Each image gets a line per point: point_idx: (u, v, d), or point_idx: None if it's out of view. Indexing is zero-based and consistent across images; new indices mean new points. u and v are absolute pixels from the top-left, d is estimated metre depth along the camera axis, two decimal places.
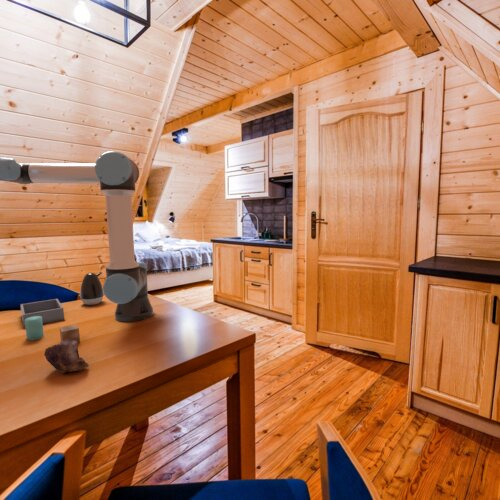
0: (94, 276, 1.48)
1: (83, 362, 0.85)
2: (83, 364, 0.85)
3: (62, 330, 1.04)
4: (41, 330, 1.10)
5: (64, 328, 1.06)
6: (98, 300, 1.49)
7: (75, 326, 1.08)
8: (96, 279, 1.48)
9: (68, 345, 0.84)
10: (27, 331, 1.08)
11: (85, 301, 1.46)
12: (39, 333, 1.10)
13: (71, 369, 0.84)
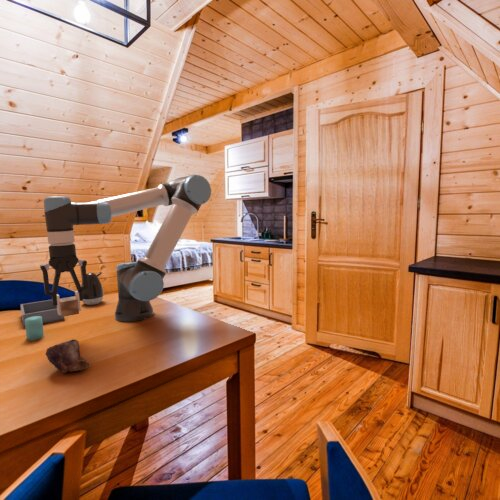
0: (94, 276, 1.48)
1: (84, 362, 0.85)
2: (84, 364, 0.85)
3: (61, 301, 1.03)
4: (41, 330, 1.10)
5: (63, 299, 1.05)
6: (98, 300, 1.49)
7: (74, 297, 1.07)
8: (96, 279, 1.48)
9: (69, 345, 0.84)
10: (27, 331, 1.08)
11: (85, 301, 1.46)
12: (39, 333, 1.10)
13: (72, 369, 0.84)
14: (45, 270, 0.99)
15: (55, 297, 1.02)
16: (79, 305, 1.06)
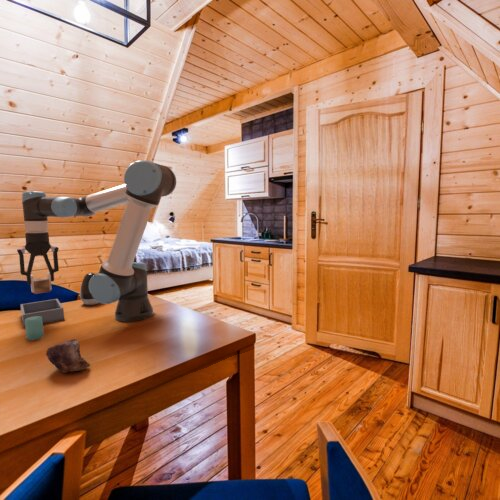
0: None
1: (84, 362, 0.85)
2: (84, 364, 0.85)
3: (34, 280, 1.21)
4: (41, 330, 1.10)
5: (36, 279, 1.23)
6: None
7: (46, 278, 1.24)
8: None
9: (69, 345, 0.84)
10: (27, 331, 1.08)
11: (85, 301, 1.46)
12: (39, 333, 1.10)
13: (72, 369, 0.84)
14: (21, 253, 1.17)
15: (29, 277, 1.20)
16: (50, 285, 1.24)
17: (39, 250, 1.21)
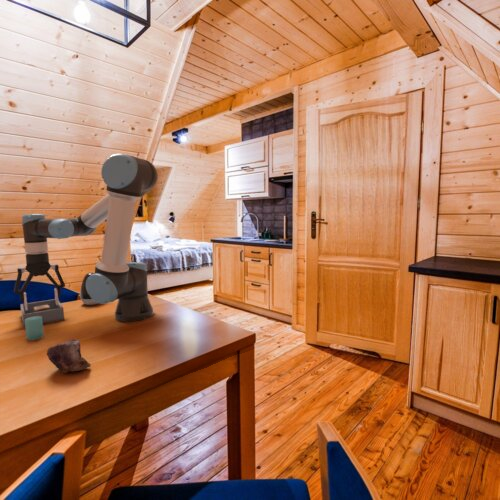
0: None
1: (85, 362, 0.85)
2: (85, 364, 0.85)
3: (35, 308, 1.25)
4: (41, 330, 1.10)
5: (37, 307, 1.27)
6: None
7: (47, 306, 1.29)
8: None
9: (70, 345, 0.84)
10: (27, 331, 1.08)
11: (85, 301, 1.46)
12: (39, 333, 1.10)
13: (73, 369, 0.84)
14: (20, 272, 1.21)
15: (22, 295, 1.22)
16: (57, 300, 1.29)
17: (39, 270, 1.25)
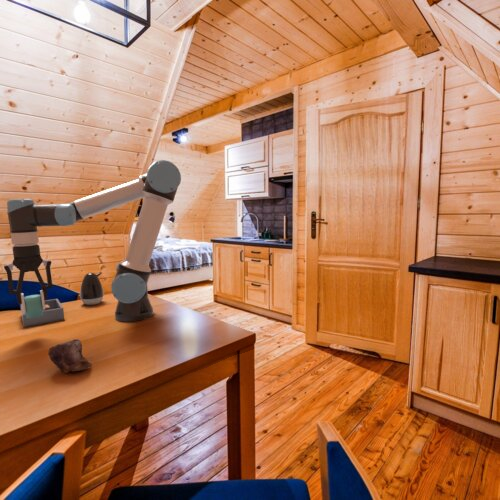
0: (94, 276, 1.48)
1: (86, 362, 0.85)
2: (86, 364, 0.85)
3: None
4: (41, 308, 1.10)
5: None
6: (98, 300, 1.49)
7: (47, 306, 1.29)
8: (96, 279, 1.48)
9: (71, 345, 0.84)
10: (26, 309, 1.07)
11: (85, 301, 1.46)
12: (39, 311, 1.09)
13: (74, 369, 0.84)
14: (9, 270, 1.03)
15: (19, 296, 1.06)
16: (44, 304, 1.10)
17: (29, 265, 1.07)
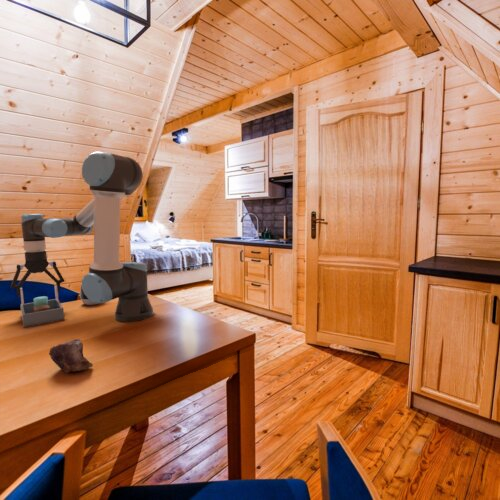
0: None
1: (87, 362, 0.85)
2: (87, 364, 0.85)
3: (35, 308, 1.25)
4: None
5: (37, 307, 1.27)
6: None
7: (47, 306, 1.29)
8: None
9: (72, 345, 0.84)
10: None
11: (85, 301, 1.46)
12: None
13: (74, 369, 0.84)
14: (19, 269, 1.27)
15: (19, 290, 1.28)
16: (57, 294, 1.36)
17: (37, 267, 1.31)
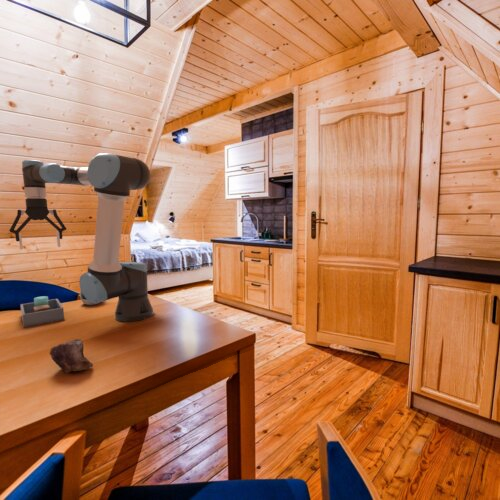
0: None
1: (87, 362, 0.85)
2: (87, 364, 0.85)
3: (35, 308, 1.25)
4: None
5: (37, 307, 1.27)
6: None
7: (47, 306, 1.29)
8: None
9: (72, 345, 0.84)
10: None
11: (85, 301, 1.46)
12: None
13: (75, 369, 0.84)
14: (20, 214, 1.29)
15: (17, 234, 1.29)
16: (59, 242, 1.38)
17: (38, 215, 1.33)
